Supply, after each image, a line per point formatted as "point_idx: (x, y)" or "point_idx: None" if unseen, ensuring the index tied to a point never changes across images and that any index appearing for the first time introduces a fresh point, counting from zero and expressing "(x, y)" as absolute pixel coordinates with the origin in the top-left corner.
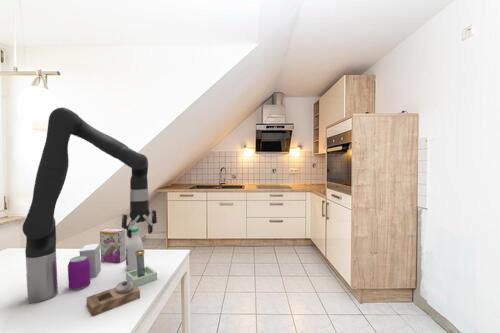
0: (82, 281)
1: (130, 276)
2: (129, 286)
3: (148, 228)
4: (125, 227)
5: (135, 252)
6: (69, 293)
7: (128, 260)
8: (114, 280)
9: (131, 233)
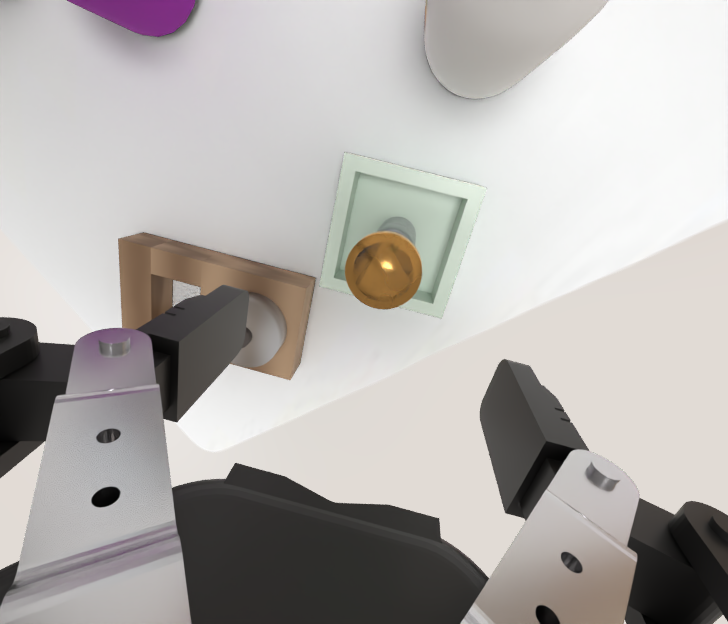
0: (126, 25)
1: (332, 231)
2: (249, 366)
3: (516, 417)
4: (17, 444)
5: (349, 257)
6: (99, 29)
7: (427, 26)
8: (307, 102)
9: (211, 382)
